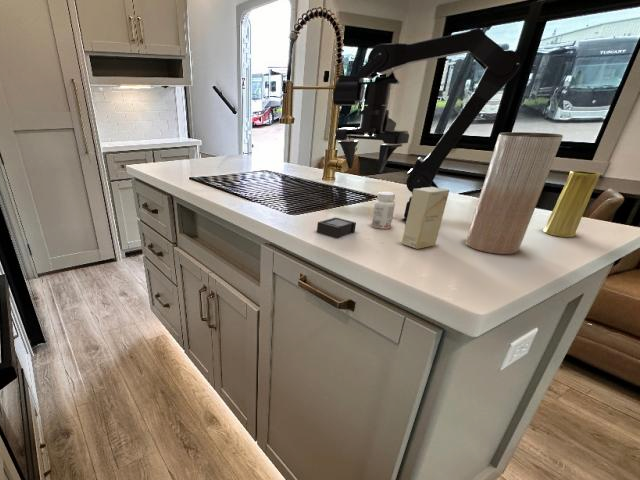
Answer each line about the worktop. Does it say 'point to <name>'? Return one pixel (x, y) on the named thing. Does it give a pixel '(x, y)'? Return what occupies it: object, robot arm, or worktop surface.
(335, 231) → the dark grey u-shaped bracket
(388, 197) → the pill bottle
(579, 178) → the vase
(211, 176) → the worktop surface
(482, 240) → the planter
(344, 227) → the loose pad
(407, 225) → the cosmetic box
